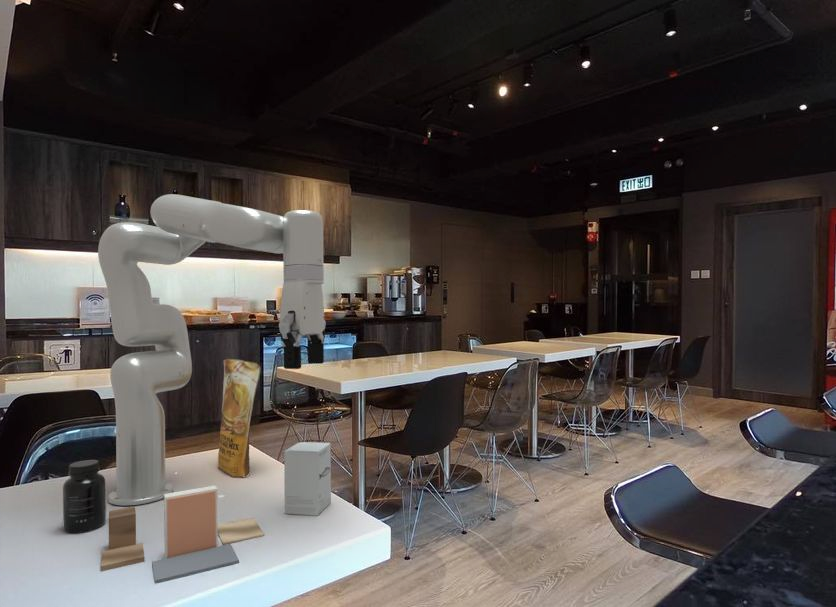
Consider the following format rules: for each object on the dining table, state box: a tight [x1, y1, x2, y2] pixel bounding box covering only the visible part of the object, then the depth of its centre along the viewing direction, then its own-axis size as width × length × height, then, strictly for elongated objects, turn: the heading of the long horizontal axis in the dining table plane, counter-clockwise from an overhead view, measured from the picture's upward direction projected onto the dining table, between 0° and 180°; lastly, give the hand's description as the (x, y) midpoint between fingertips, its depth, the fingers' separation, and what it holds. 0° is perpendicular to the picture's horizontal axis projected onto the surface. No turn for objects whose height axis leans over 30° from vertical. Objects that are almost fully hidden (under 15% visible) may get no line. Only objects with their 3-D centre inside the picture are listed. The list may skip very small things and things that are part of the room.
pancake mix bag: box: [217, 358, 262, 478], centre depth 134 cm, size 7×19×28 cm, turn 39°
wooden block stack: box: [100, 505, 145, 572], centre depth 87 cm, size 10×6×6 cm, turn 30°
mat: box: [151, 543, 240, 584], centre depth 83 cm, size 7×12×1 cm, turn 120°
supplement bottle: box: [62, 459, 107, 534], centre depth 99 cm, size 7×7×12 cm
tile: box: [163, 485, 219, 559], centre depth 88 cm, size 2×8×10 cm, turn 120°
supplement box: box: [283, 441, 332, 517], centre depth 107 cm, size 7×7×13 cm
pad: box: [217, 516, 265, 546], centre depth 96 cm, size 9×7×1 cm
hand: (304, 365), depth 100 cm, fingers open, 9 cm apart
